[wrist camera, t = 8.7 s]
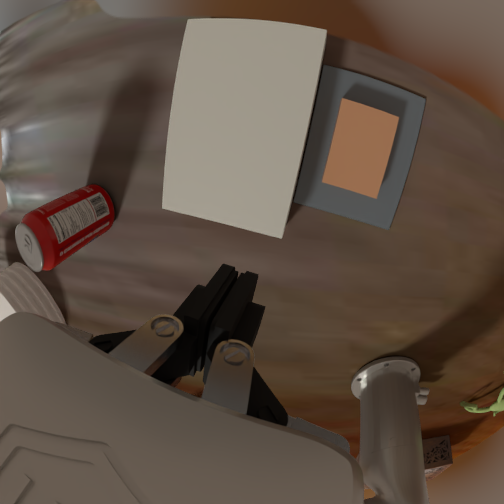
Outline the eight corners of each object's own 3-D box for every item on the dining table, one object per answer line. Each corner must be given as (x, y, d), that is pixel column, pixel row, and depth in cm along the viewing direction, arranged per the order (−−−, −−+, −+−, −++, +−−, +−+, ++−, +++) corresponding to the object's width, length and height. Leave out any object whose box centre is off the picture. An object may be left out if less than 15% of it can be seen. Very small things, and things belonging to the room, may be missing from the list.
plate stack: (83, 354, 62) (61, 381, 52) (35, 330, 69) (15, 350, 59) (42, 266, 50) (9, 292, 40) (2, 258, 56) (-23, 276, 46)
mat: (424, 99, 22) (425, 99, 21) (388, 229, 29) (388, 230, 29) (323, 65, 23) (323, 64, 23) (293, 201, 31) (293, 202, 30)
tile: (342, 97, 22) (340, 99, 24) (321, 182, 27) (321, 178, 28) (399, 117, 22) (394, 117, 23) (376, 198, 26) (373, 194, 28)
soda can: (124, 201, 36) (47, 246, 23) (110, 239, 40) (44, 288, 27) (91, 172, 35) (13, 206, 22) (79, 211, 39) (12, 250, 26)
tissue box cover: (448, 434, 46) (452, 463, 38) (430, 453, 52) (431, 479, 44) (363, 444, 53) (361, 477, 44) (353, 461, 59) (351, 489, 50)
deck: (326, 41, 22) (326, 30, 18) (286, 225, 32) (281, 238, 29) (202, 28, 23) (188, 19, 20) (177, 198, 34) (162, 208, 30)
